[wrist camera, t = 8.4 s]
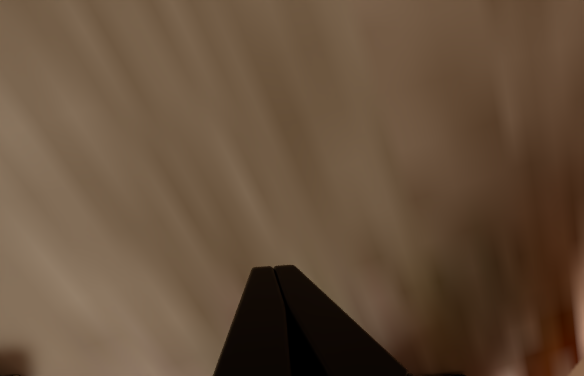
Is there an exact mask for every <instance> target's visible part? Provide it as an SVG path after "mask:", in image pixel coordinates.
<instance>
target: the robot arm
mask: <svg viewBox="0 0 584 376" xmlns="http://www.w3.org/2000/svg"><path fill="white" fill-rule="evenodd" d="M213 376H413V375H412V374H408V370H407V369H406V368H404V367H403V366H402V365H401V364H400V363H399V362H398V361H397V360H396V359H395V358H394V357H393V356H392V355H390V354H389V353H388V352H387V351H386V350H385V349H384V348H383V347H382V346H381V345H380V344H379V343H378V342H376V341H375V340H374V339H373V338H372V337H371V336H370V335H369V334H368V333H367V332H366V331H365V330H364V329H362V328H361V327H360V326H359V325H358V324H357V323H356V322H355V321H354V320H353V319H352V318H351V317H349V316H348V315H347V314H346V313H345V312H344V311H343V310H342V309H341V308H340V307H339V306H338V305H337V304H335V303H334V302H333V301H332V300H331V299H330V298H329V297H328V296H327V295H326V294H325V293H324V292H323V291H321V290H320V289H319V288H318V287H317V286H316V285H315V284H314V283H313V282H312V281H311V280H310V279H309V278H307V277H306V276H305V275H304V274H303V273H302V272H301V271H300V270H299V269H298V268H297V267H295V266H294V265H281V266H275V267H274V269H273V268H272V267H271V266H264V267H254V268H252V270H251V272H250V275H249V278H248V281H247V283H246V286H245V289H244V292H243V294H242V297H241V300H240V303H239V305H238V308H237V311H236V314H235V316H234V319H233V322H232V324H231V327H230V330H229V333H228V335H227V338H226V341H225V344H224V346H223V349H222V352H221V355H220V357H219V360H218V363H217V366H216V368H215V371H214V374H213ZM453 376H466V375H453Z"/></svg>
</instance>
